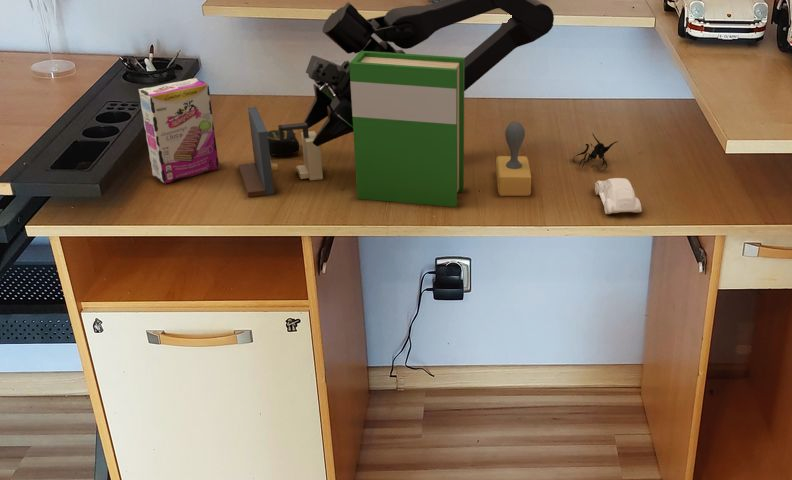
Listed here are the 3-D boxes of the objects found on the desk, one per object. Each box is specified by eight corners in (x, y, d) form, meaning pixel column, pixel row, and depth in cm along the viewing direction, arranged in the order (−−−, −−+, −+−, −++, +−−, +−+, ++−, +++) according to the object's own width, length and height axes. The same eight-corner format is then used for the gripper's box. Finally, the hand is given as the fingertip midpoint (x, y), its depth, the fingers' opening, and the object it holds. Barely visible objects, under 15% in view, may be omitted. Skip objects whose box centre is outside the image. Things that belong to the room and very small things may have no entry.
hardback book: (463, 189, 163) (464, 57, 151) (456, 207, 157) (456, 70, 144) (368, 182, 165) (361, 50, 153) (357, 198, 159) (349, 63, 146)
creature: (597, 180, 171) (622, 160, 175) (595, 156, 168) (621, 136, 172) (565, 168, 176) (590, 149, 180) (563, 144, 172) (589, 126, 176)
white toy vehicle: (642, 217, 155) (645, 192, 153) (607, 219, 154) (610, 194, 152) (623, 188, 165) (626, 165, 163) (590, 190, 164) (592, 166, 162)
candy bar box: (165, 185, 161) (149, 96, 153) (152, 176, 164) (135, 88, 156) (221, 169, 168) (209, 83, 160) (208, 161, 171) (195, 76, 163)
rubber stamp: (530, 196, 162) (533, 132, 155) (498, 195, 161) (500, 131, 155) (526, 174, 170) (529, 112, 164) (495, 173, 170) (497, 112, 163)
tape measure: (300, 157, 174) (299, 138, 172) (264, 160, 172) (262, 141, 170) (296, 144, 180) (294, 126, 178) (261, 147, 178) (259, 129, 176)
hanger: (317, 168, 170) (313, 118, 164) (322, 179, 166) (318, 127, 160) (282, 173, 167) (276, 121, 162) (286, 183, 163) (281, 131, 158)
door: (269, 166, 170) (263, 106, 164) (281, 193, 160) (274, 130, 154) (238, 169, 168) (230, 109, 162) (248, 197, 158) (240, 134, 152)
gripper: (321, 26, 164) (266, 92, 166) (343, 55, 149) (283, 126, 151) (366, 66, 170) (312, 128, 172) (392, 96, 155) (333, 164, 158)
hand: (309, 135), depth 163 cm, fingers open, 9 cm apart
